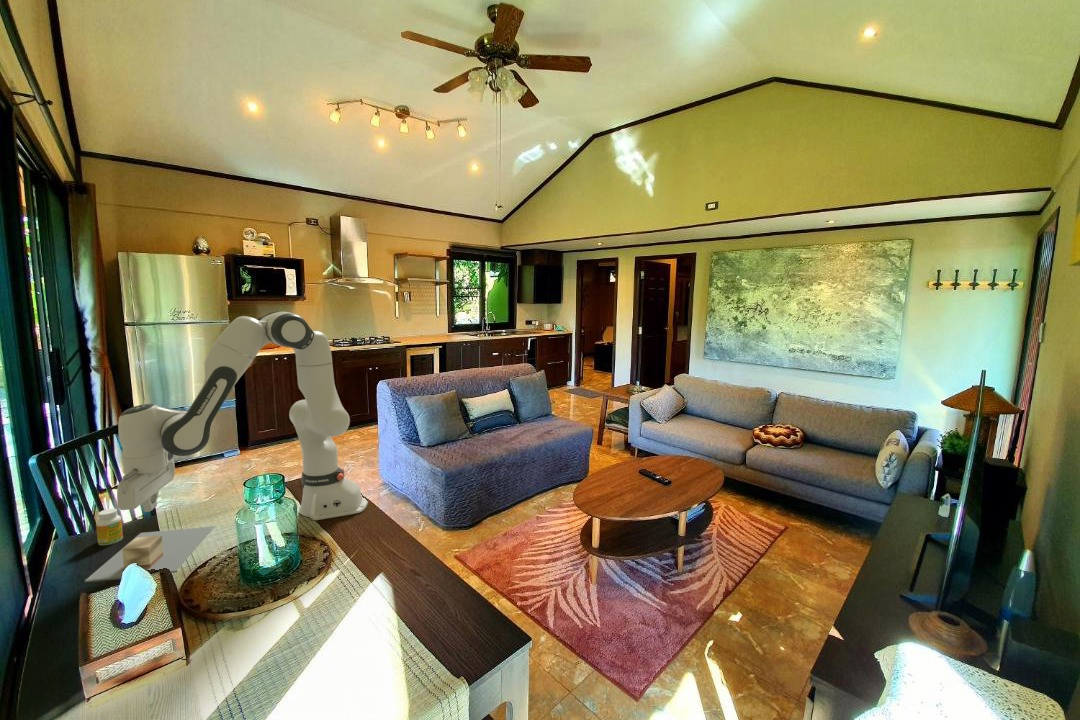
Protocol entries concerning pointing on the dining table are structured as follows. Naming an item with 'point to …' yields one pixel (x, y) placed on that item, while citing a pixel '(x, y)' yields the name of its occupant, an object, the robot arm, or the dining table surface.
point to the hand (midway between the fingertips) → (150, 509)
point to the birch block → (143, 551)
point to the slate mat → (174, 552)
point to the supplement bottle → (109, 527)
